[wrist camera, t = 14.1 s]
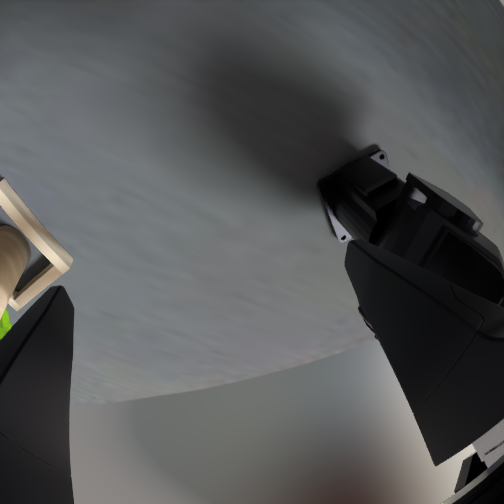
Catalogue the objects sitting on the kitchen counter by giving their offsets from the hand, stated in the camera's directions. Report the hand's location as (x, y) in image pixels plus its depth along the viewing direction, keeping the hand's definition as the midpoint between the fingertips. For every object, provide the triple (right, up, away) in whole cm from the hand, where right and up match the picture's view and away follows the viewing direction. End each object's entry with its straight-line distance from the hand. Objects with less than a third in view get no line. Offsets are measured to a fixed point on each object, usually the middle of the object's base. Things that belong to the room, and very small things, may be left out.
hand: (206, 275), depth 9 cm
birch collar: (-19, +1, +11) cm, 22 cm away
